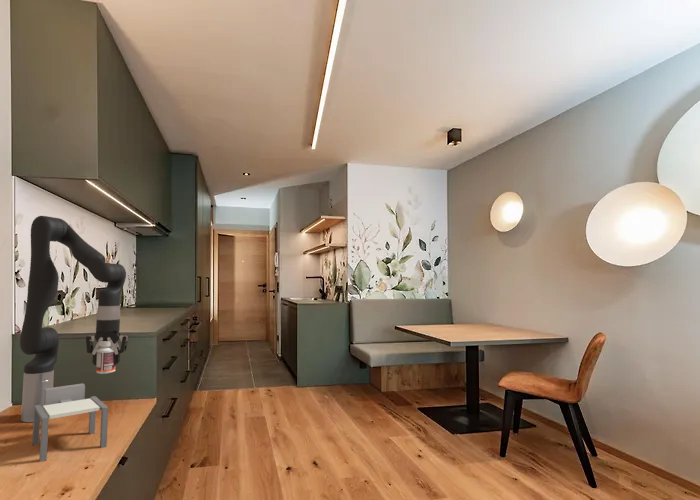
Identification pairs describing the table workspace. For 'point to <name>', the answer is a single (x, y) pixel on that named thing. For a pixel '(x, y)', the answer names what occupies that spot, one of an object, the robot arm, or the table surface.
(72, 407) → the trapdoor
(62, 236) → the robot arm
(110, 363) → the pill bottle
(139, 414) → the table surface
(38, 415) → the stand
